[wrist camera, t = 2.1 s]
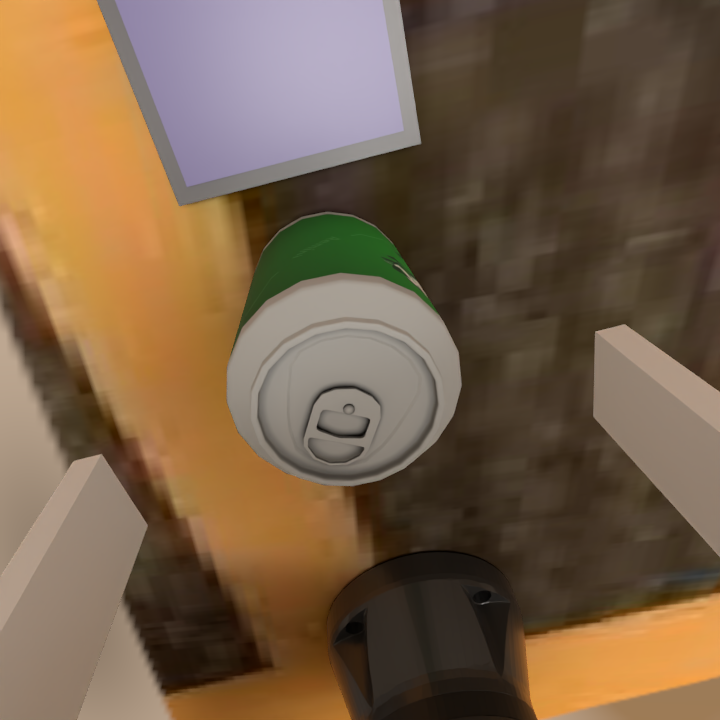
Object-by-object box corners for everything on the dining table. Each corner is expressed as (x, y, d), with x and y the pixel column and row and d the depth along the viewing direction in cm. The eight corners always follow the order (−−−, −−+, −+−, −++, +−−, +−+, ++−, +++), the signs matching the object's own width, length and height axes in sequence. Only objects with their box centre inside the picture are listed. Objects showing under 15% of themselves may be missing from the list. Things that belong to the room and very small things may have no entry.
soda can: (243, 329, 26) (201, 487, 15) (273, 187, 22) (246, 260, 12) (376, 359, 27) (422, 519, 17) (421, 230, 24) (513, 328, 14)
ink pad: (415, 141, 22) (422, 144, 21) (185, 201, 22) (177, 207, 21) (363, -193, 17) (368, -218, 16) (62, -112, 17) (42, -130, 16)
